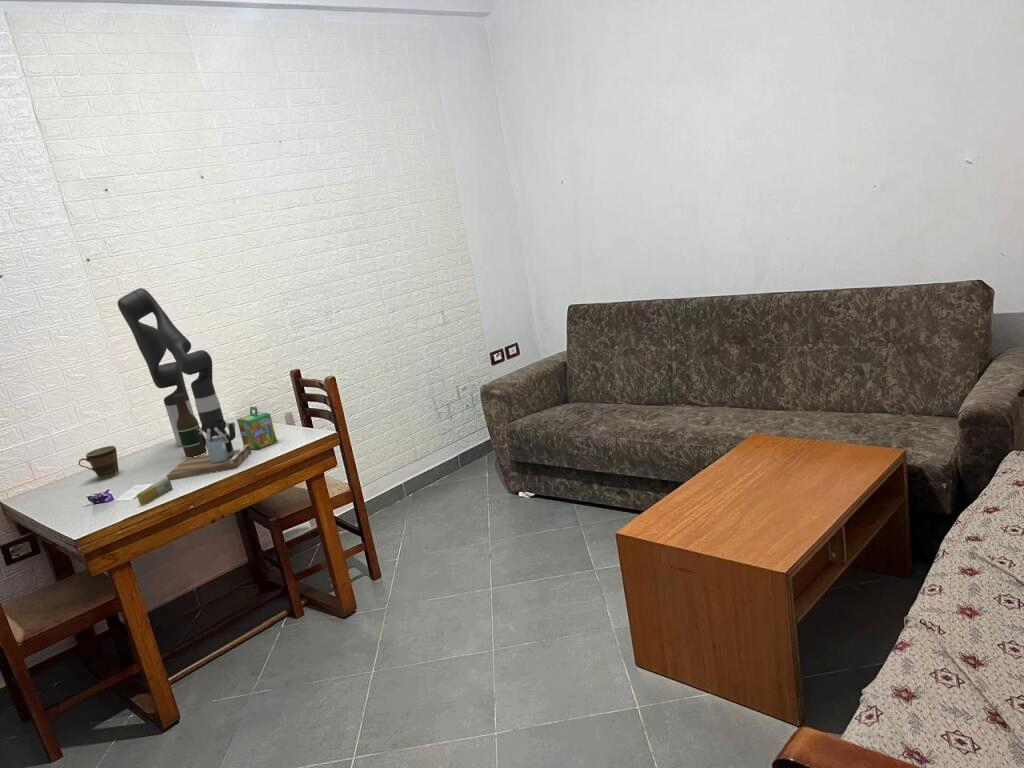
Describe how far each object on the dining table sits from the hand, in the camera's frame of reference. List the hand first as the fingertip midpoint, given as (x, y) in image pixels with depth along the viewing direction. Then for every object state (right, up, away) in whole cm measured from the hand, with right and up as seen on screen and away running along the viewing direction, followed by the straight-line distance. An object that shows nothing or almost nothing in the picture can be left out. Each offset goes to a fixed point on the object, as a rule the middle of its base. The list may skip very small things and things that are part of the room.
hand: (221, 453), depth 258 cm
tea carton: (0, -1, 0) cm, 2 cm away
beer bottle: (-17, -2, +20) cm, 26 cm away
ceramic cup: (-48, -10, +12) cm, 50 cm away
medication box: (-12, -12, -22) cm, 28 cm away
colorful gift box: (+8, +1, +16) cm, 18 cm away
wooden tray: (-4, -5, +1) cm, 6 cm away
